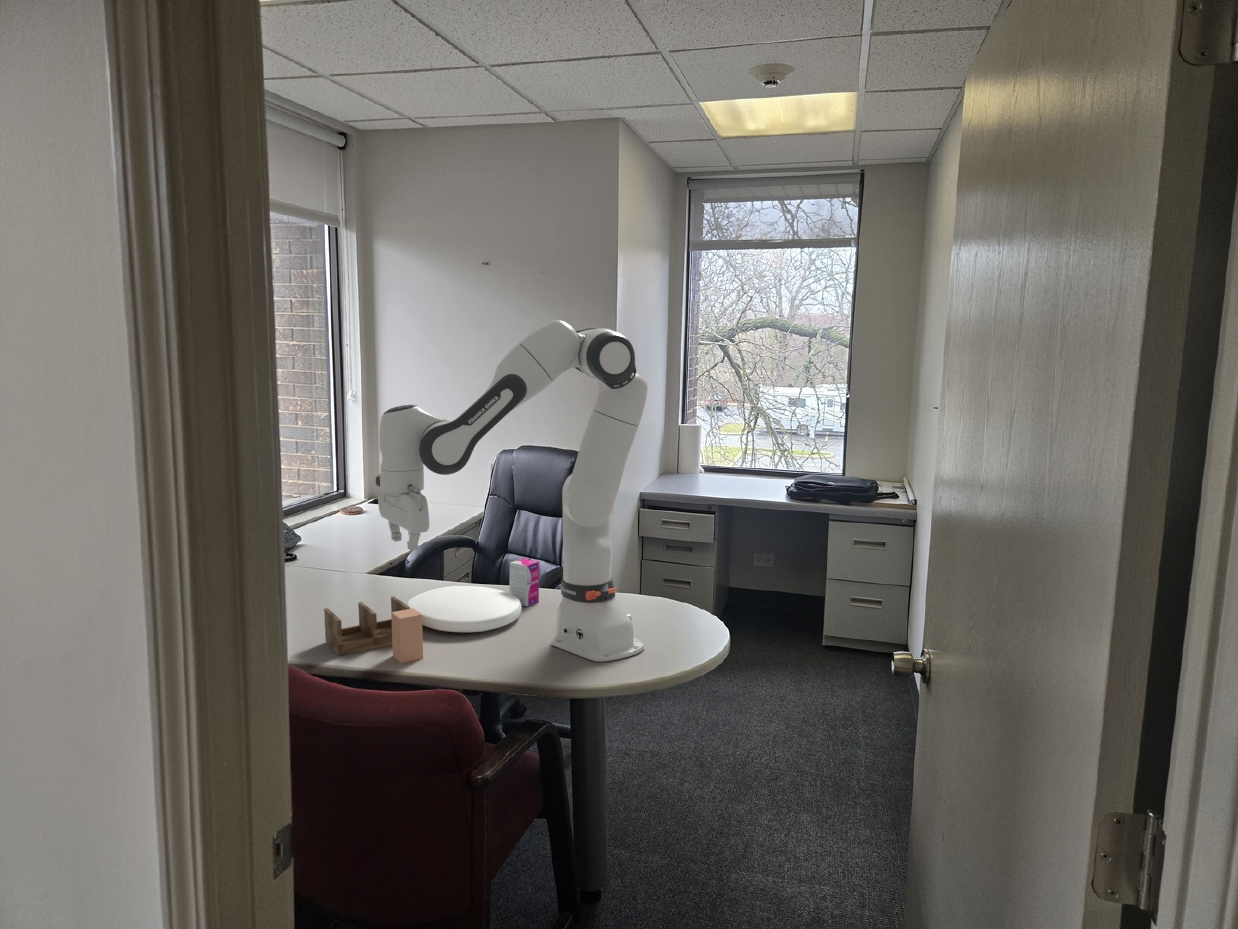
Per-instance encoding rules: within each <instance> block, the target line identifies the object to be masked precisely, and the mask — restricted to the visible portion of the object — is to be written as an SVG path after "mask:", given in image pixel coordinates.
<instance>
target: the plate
mask: <svg viewBox="0 0 1238 929" xmlns="http://www.w3.org/2000/svg"><path fill="white" fill-rule="evenodd" d="M406 605H407V606H409V607H410V609H412V608H414V609H415V610H416V611H418V612H419V613H421V614H422V626H424V627H427V628H430V629H432V630H437V631H441V632H450V633H482V632H486V631H491V630H494V629H498V628H501V627H505V626H506V625H509V624H511V623H512V622H514V621H516V620H517V619H518V618H519V617H520V615H521V613H522V607H521V603H520V600H519V599H518V598H517V597H515V596H513V595H512V594H509V592H506V591H504V590H501V589H498V588H497V589H496V588H493V587H492V588H491V587H487V586H486V587H485V586H473V585H450V586H449V585H448V586H445V587H438V588H434V589H430V590H429V589H428V590H427V591H424V592H421V593H419V594H417V595H414V596H413V597H412V598H410V599H409V600H408V601H407V603H406Z"/></svg>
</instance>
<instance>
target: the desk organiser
mask: <svg viewBox="0 0 1238 929" xmlns="http://www.w3.org/2000/svg"><path fill="white" fill-rule="evenodd" d="M357 603H358V606H357V607H358V625H353V626H349V627H344V628H343V626H342V620H341V619H340V618H339V616H337V615H336V614H335V613H334V612H333V611H332V610H331V609H329V608H328V607H327V608H323V612H324V613H323V614H324V631H325V633H324V634H325V643H326V644H327V645H328V644H329V645H328V647H330V648H331V649H332V650H333V651H334V653H335V654H337V655H338V656H339V657H340V656H341V657H342V656H345V655H349V654H355V652H356V653H360V652H364V651H363V650H365V651H369V650H373V649H378V648H383V647H382V646H384V647H388V646H392V618H389V619H384V620H380V621H379V620H378V621H377V618H378V616H377V613H376V612H375V611H374V610H373V609H371V608H370V607H369V606H367V605H366V604H365V603H364V602H362V601H360V602H357ZM390 605H391V606H390V609H391V612H396V611H401V610H406V609H410V607H409V606H407V603H406V604H405V603H404V602H403V601H402V600H400V599H399V598H397V597H396V596H394V595H392V596H390ZM391 612H390V613H391ZM387 645H388V646H387ZM359 651H360V652H359Z"/></svg>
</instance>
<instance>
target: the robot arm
mask: <svg viewBox="0 0 1238 929" xmlns="http://www.w3.org/2000/svg"><path fill="white" fill-rule="evenodd" d="M636 366H637V365H636V354H635V350H634V346H633V344H632V343H631V341H630V340H629V339H628V338H627V337H626V336H625V335H623V334H622V333H620V332H617V331H615V330H612V329H609V328H595V327H594V328H592V327H591V328H590V327H589V328H585V329H584V328H583V329H580V330H575V328H573V326H572V325H570V324H569V323H567V322H566V321H563V320H560V319H553V320H551V321H549V322H547V323H545V324H543V325H541V326H540V327H538V328H537V329H535V330H534V331H532V332H531V333H529V334H528V335H527V336H526V337H524V338H523V339H522V340H520V341H519V342H518V343H517V344H516V345H515V346H514V347H512V349H511V350H510V351H508V353H507V354H506V355H505V356H504V357H503V359H502V360H501V361H500V362H499V364H498V365H497V366H496V369H495V371H494V372H495V373H494V375H493V378H492V381H491V383H490V384H489V386H488V388H487V389H486V390H485V391H484V392H483V394H482V395H481V396H480V397H478V398H477V399H476V400H475V401H474V402H473V403H472V404H471V405H469V406H468V408H467V409H465V410H464V411H463V412H462V413H461V414H460V415H459V416H457V418H455V419H454V420H448V419H445V418H441V417H439V416H436V415H433V414H432V413H429V412H427V411H425V410H423V409H422V408H420V407H419V406H418V405H415V404H403V405H400V406H399V405H398V406H394V407H390V408H389V409H387V410H386V411H385V412H383V414H382V415H381V418H380V422H379V450H380V453H381V463H380V473H379V474H377V475H375V477H374V484H375V486H376V487H377V501H378V503H377V504H378V511H379V515H380V517H381V518H382V519H383V518H384V519H385V520H387V521H388V522H387V523H388V528H389V529H390V530H389V531H390V534H391V536H390V538H391V541H393V542H401V541H402V540H403V539H402V532H401V529H400V528H403V529H404V530H406V531H408V532H407V533H408V537H409V538H408V541H407V542H406V544H407V549H408V550H409V551H411V552H414V551H415V552H416V551H417V550H418V549H419V540H420V537H421V534H422V533H427V532H428V531H429V529H430V516H429V515H430V514H429V506H428V500H427V497H426V496H425V495H424V494H423V493H422V491H423V490H424V489H425V478H424V477H425V476H424V475H425V474H424V473H425V472H424V470H425V469H424V466H425V467H426V469H428V470H429V471H430V472H433V473H435V474H437V475H442V476H445V475H447V476H448V475H453V474H455V473H457V472H460V471H461V470H462V469H464V468H465V467H466V465H467V463H468V462H469V460H470V458H471V456H472V453H473V451H474V448H475V447H476V445H477V444H478V442H479V441H481V440H482V439H483V438H484V437H485V435H487V433H489V432H490V431H491V430H492V429H493V428H494V427H495V426H496V425H497V424H499V422H501V421H502V420H503V419H504V418H505V417H506V416H507V415H508V414H510V412H512V411H514V410H515V409H516V408H518V407H519V406H521V405H523V404H524V403H526V402H527V401H529V400H530V399H532V398H534V397H535V396H538V394H540V393H541V392H542V391H544V390H545V389H546V388H548V386H550V385H551V384H552V383H554V381H555V380H557V379H558V378H559V377H560V376H561V374H563V373H565V372H566V371H568V370H570V369H573V368H574V369H576V370H577V371H579V372H580V373H583V374H585V375H586V376H587V377H590V378H591V379H595V380H596V381H597V383H598V393H597V398H596V401H595V403H594V406H593V408H592V411H591V415H590V416H589V420H588V423H587V426H586V428H585V431H584V434H583V436H582V439H581V442H580V447H579V449H578V453H577V457H576V460H575V463H574V467H573V469H572V473H571V474H570V475H569V476H567V478H566V479H565V481H564V484H563V486H562V494H561V496H562V497H561V498H562V500H561V501H562V550H563V552H562V555H563V556H562V568H563V569H562V575H563V576H562V578H561V581H560V589H561V590H560V594H561V596H562V599H561V601H560V603H559V605H558V608H557V612H556V613H557V614H556V624H555V635H554V637H552V639H551V642H550V645H551V646H553V647H557V648H559V649H561V650H564V651H567V652H569V653H572V654H575V655H577V656H580V657H582V658H585V659H588V660H589V661H591V662H592V661H593V662H609V661H616V660H620V659H624V658H629V657H631V656H634V655H637V654H639V653H641V652H642V651H643V650H644V649H645V645H644V643H643V642H641V641H640V640H639V639H638V638H636V637H635V636H634V626H633V619H632V616H631V614H630V613H626V611H625V610H624V608H623V607H622V605H621V604H620V603H619V601H618V600H617V598H616V593H618V591H617V589H618V587H617V586H616V587H615V585H614V582H613V579H612V577H611V576H612V575H611V574H612V573H611V569H612V563H611V562H612V560H611V558H612V543H611V542H612V541H611V523H610V516H611V514H612V512H613V509H614V505H615V503H616V499H617V496H618V493H619V490H620V485H621V483H622V482H621V481H622V480H623V476H624V471H625V466H626V463H627V460H628V457H629V454H630V451H631V449H632V445H633V443H634V439H635V438H636V434H637V432H638V429H639V426H640V423H641V421H642V417H643V414H644V409H645V405H646V401H647V394H648V384H647V381H646V380H645V378H644V377H643V376H642V375H640V373H638V372H637V367H636Z"/></svg>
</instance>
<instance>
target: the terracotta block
mask: <svg viewBox="0 0 1238 929" xmlns="http://www.w3.org/2000/svg"><path fill="white" fill-rule="evenodd" d="M390 614H391V618H390V619H392V645H391V647H392V657H393V658H395V660H397V661H398V663H400V664H405V663H409V662H415V661H417V660H418V661H419V660H422V659H424V641H423V639H424V636H423V634H424V633H423V625H422V614H421V613H419V612H418V611H416V610H415V609H414V608H412V609H406V610H401V611H396V612H390Z"/></svg>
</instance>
